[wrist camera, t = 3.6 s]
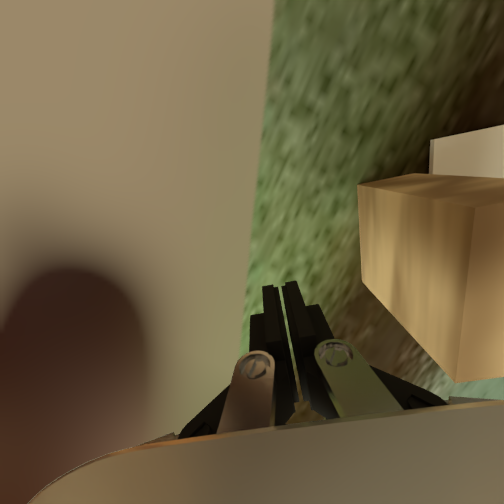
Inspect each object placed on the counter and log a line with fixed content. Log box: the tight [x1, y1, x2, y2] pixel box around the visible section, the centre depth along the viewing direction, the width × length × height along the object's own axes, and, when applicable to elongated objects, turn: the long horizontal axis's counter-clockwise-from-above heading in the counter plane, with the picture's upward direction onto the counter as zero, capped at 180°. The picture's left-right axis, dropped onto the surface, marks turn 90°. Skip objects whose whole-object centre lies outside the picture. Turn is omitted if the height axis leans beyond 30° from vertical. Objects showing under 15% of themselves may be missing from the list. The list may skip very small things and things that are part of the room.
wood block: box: [357, 173, 504, 383], centre depth 14 cm, size 4×8×10 cm, turn 11°
